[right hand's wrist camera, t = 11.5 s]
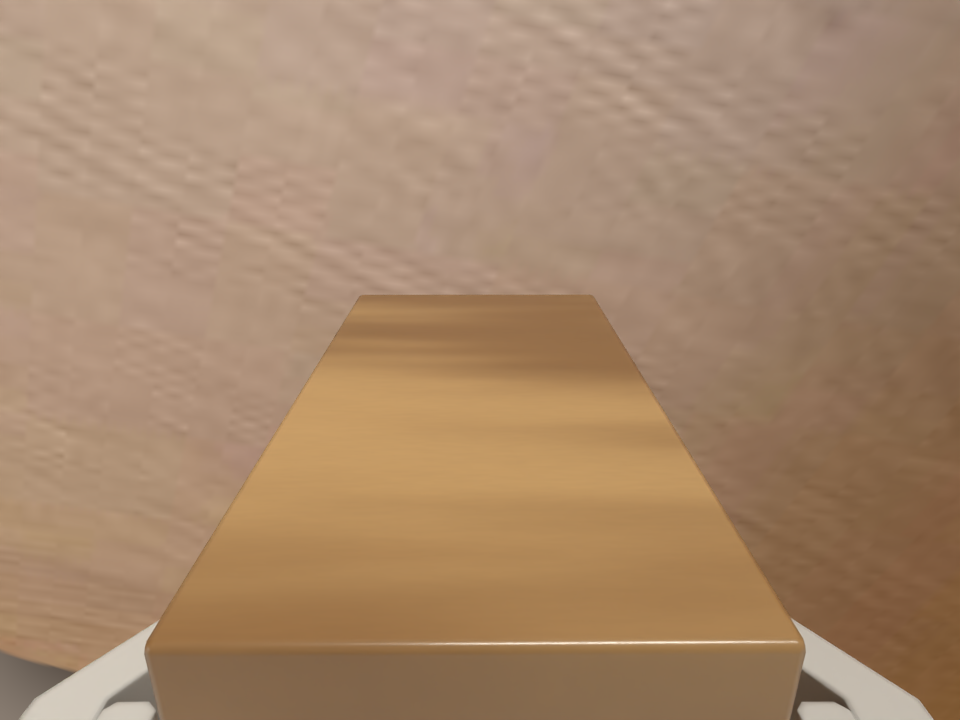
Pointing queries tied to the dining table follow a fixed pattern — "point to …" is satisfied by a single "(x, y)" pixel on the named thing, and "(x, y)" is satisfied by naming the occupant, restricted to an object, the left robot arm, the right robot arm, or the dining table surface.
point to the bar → (475, 541)
